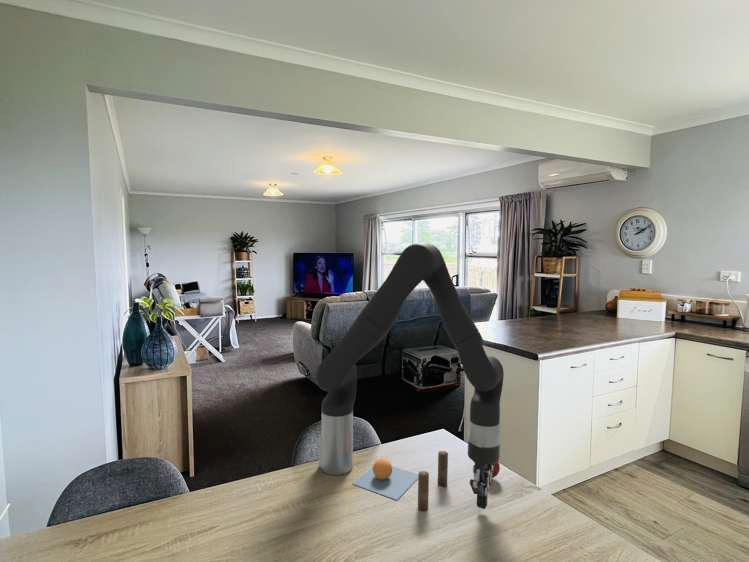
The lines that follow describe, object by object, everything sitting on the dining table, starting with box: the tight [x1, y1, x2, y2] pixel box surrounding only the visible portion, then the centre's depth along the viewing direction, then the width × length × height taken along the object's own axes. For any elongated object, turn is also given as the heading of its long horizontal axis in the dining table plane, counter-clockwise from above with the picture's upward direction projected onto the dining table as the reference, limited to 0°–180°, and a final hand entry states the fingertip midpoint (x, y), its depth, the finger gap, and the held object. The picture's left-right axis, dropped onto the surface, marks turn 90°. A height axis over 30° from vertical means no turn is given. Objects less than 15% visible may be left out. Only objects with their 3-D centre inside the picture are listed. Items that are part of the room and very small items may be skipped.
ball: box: [372, 458, 393, 480], centre depth 119 cm, size 6×6×6 cm
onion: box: [492, 461, 501, 479], centre depth 119 cm, size 6×6×8 cm
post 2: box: [437, 450, 449, 488], centre depth 116 cm, size 3×3×9 cm
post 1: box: [417, 470, 430, 512], centre depth 105 cm, size 3×3×9 cm
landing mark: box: [352, 465, 418, 501], centre depth 118 cm, size 14×14×1 cm
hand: (481, 506), depth 104 cm, fingers closed
